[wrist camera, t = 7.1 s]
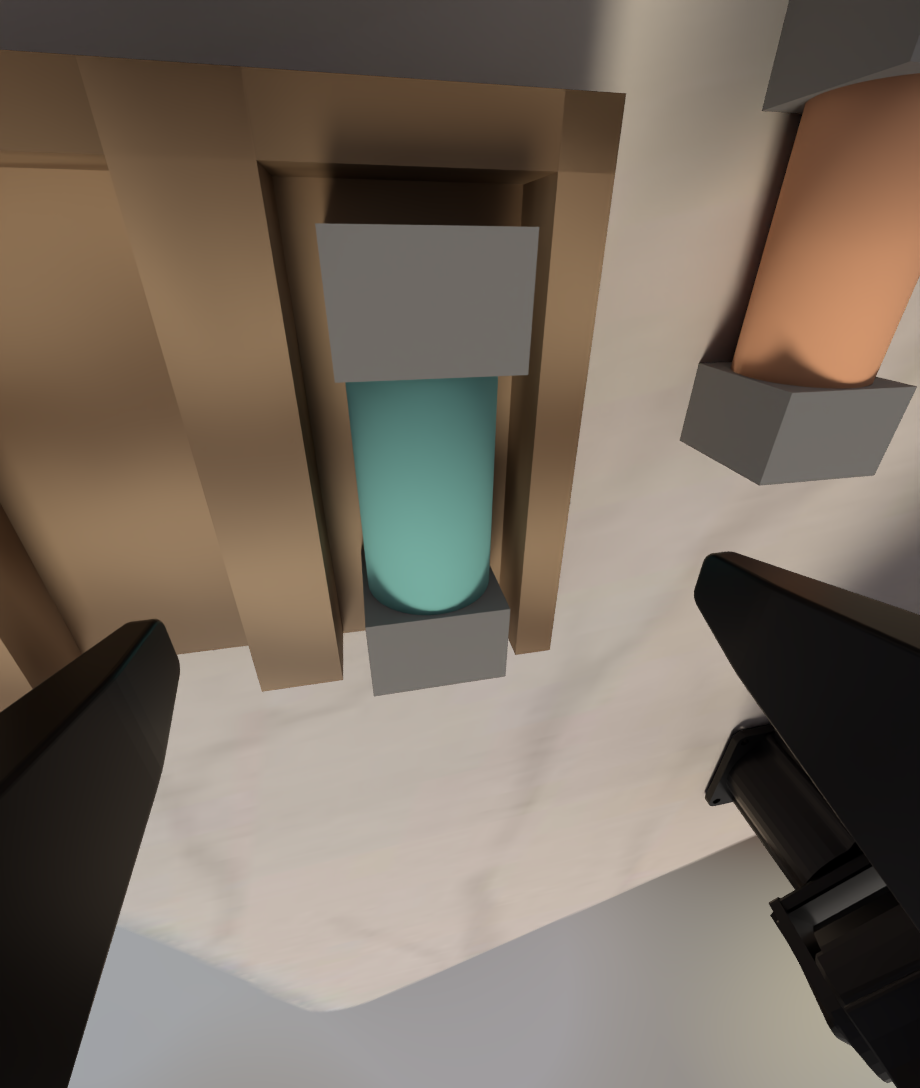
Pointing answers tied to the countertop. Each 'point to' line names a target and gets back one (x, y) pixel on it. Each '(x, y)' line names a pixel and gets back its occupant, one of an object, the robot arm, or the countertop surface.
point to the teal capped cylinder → (428, 431)
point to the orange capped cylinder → (827, 256)
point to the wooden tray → (254, 343)
